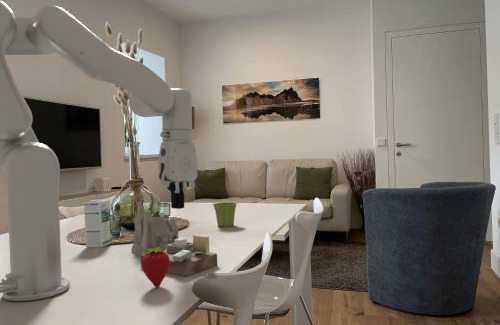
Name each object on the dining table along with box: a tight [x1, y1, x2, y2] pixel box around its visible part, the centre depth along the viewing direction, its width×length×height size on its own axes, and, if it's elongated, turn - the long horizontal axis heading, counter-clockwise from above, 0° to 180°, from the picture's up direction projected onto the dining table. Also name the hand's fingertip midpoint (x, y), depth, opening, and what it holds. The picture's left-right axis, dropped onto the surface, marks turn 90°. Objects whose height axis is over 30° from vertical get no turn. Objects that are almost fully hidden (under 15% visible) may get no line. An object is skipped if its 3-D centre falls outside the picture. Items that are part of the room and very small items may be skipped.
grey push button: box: [175, 237, 188, 247], centre depth 106 cm, size 3×3×3 cm
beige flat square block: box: [192, 234, 210, 253], centre depth 103 cm, size 1×4×4 cm, turn 54°
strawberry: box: [140, 242, 170, 288], centre depth 87 cm, size 6×8×10 cm
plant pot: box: [212, 201, 238, 228], centre depth 158 cm, size 9×9×9 cm
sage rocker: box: [173, 250, 192, 262], centre depth 97 cm, size 4×3×1 cm
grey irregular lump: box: [131, 201, 179, 257], centre depth 122 cm, size 16×16×15 cm
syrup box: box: [83, 198, 113, 249], centre depth 130 cm, size 6×6×14 cm
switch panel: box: [140, 241, 218, 277], centre depth 103 cm, size 11×16×5 cm
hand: (177, 207), depth 106 cm, fingers closed
